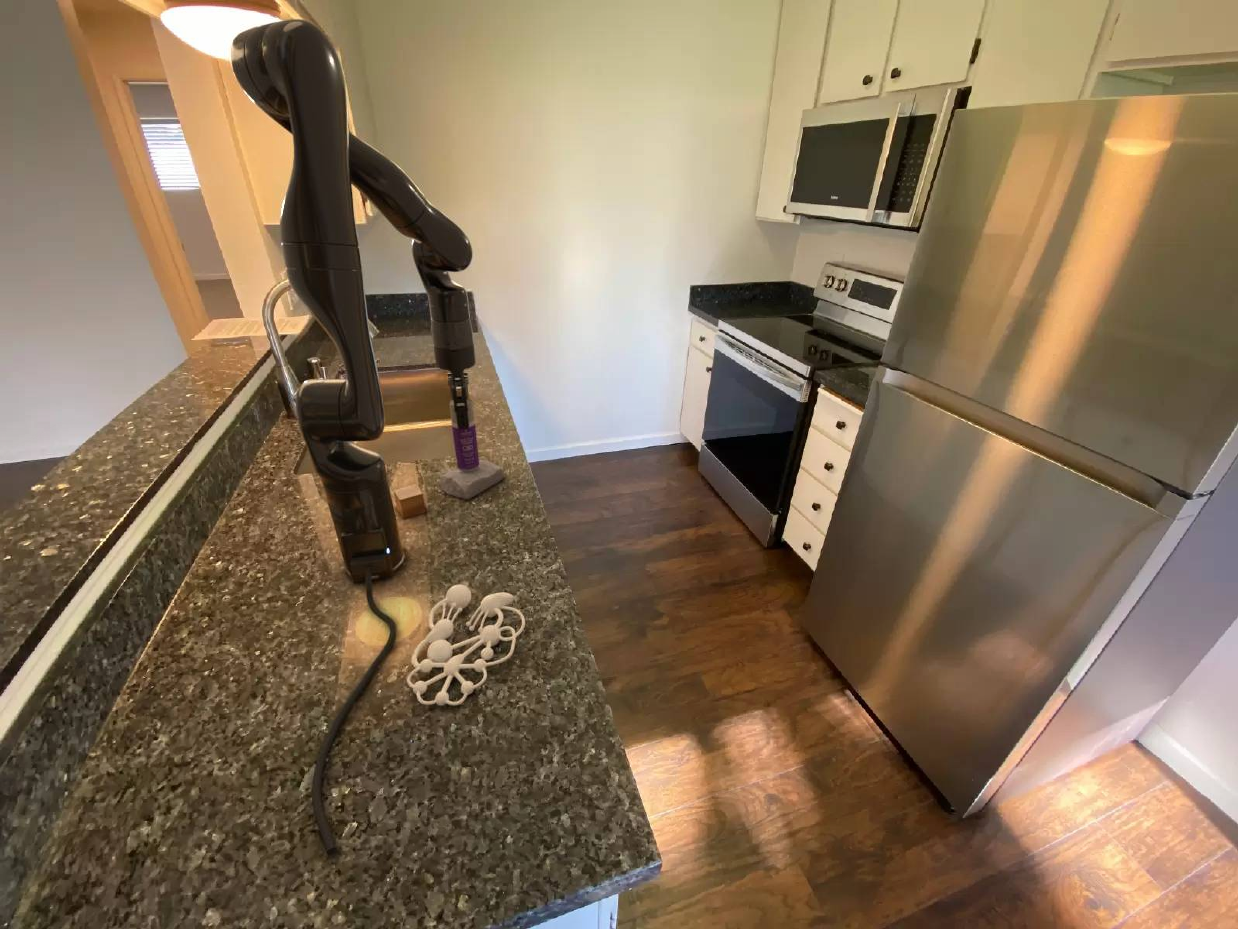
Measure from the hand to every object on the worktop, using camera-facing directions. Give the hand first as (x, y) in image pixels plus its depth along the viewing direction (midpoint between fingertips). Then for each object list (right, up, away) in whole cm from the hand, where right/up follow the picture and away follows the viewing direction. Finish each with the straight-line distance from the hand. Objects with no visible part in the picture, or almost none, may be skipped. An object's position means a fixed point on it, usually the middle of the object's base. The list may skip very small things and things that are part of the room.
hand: (463, 422), depth 108 cm
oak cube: (-10, -18, -3) cm, 21 cm away
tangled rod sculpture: (+11, -35, -33) cm, 49 cm away
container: (0, -9, +5) cm, 11 cm away
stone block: (0, -13, +7) cm, 15 cm away
